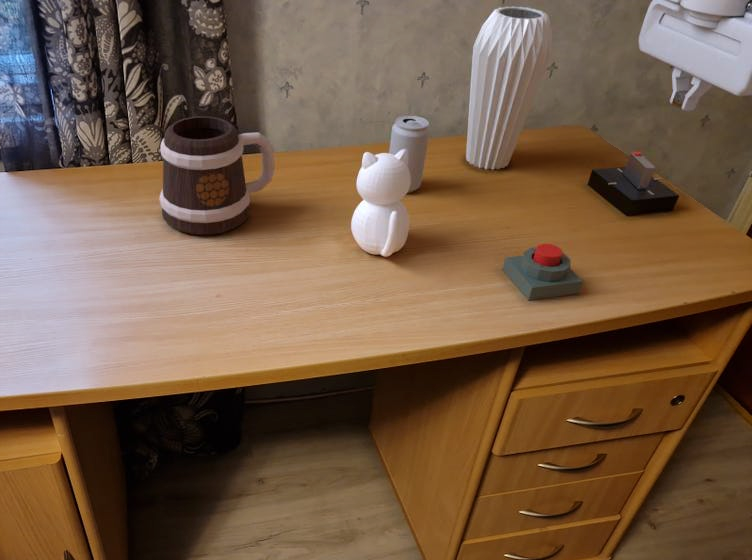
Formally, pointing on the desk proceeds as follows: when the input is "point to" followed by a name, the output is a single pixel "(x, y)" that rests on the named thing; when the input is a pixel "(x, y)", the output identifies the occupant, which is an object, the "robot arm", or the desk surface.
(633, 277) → the desk surface
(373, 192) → the cat figurine
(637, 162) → the tap handle
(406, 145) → the beverage can
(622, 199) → the block
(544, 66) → the vase
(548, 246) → the button
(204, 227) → the mug
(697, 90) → the robot arm
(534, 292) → the button block
